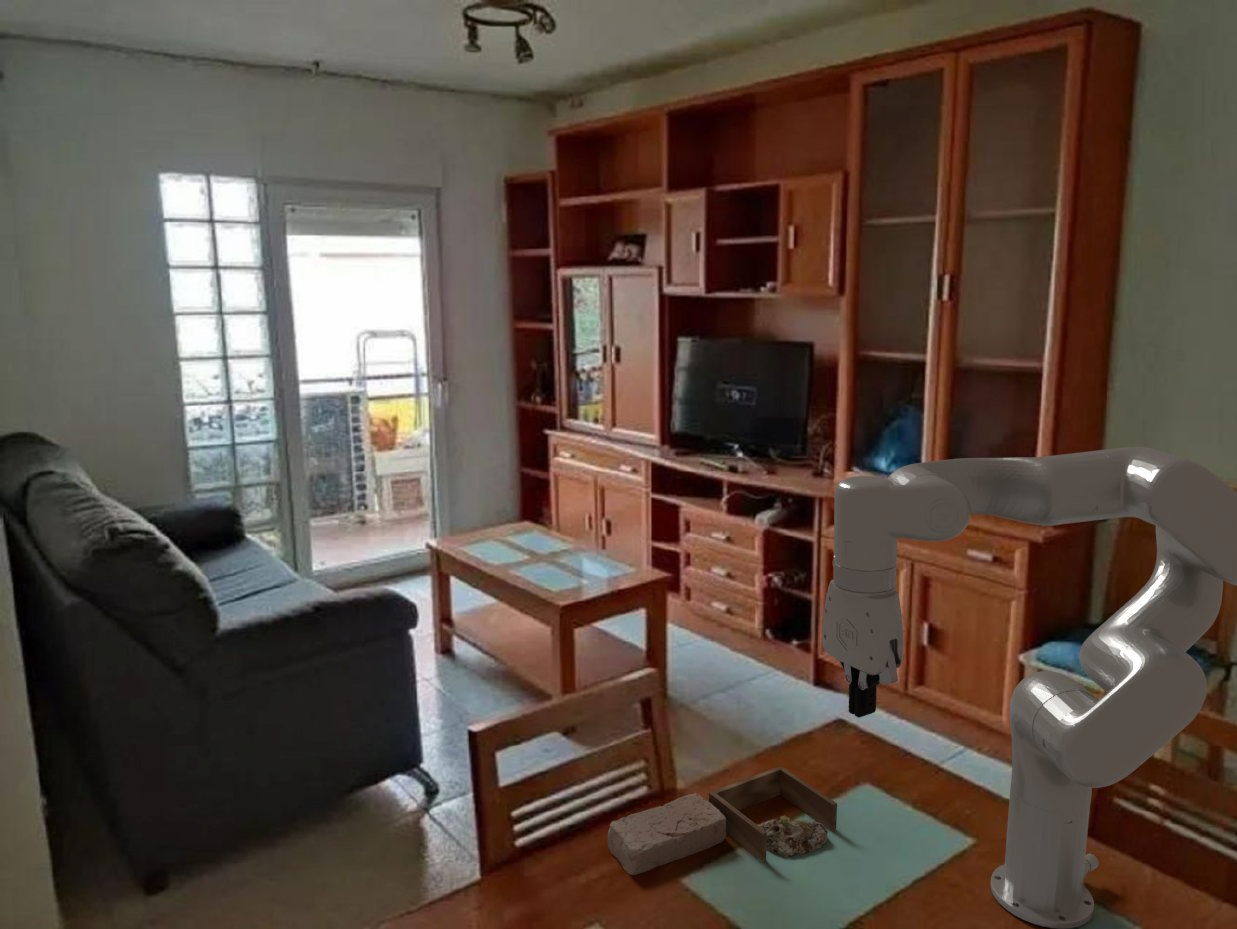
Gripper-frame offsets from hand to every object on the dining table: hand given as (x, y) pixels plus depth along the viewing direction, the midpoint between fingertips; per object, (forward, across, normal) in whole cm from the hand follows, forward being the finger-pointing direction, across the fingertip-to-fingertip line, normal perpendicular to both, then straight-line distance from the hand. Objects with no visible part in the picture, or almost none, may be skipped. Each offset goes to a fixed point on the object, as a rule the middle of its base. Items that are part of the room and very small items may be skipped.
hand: (862, 712), depth 116 cm
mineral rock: (+28, -15, +1) cm, 32 cm away
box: (+28, -20, +1) cm, 34 cm away
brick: (+28, -24, -16) cm, 40 cm away
